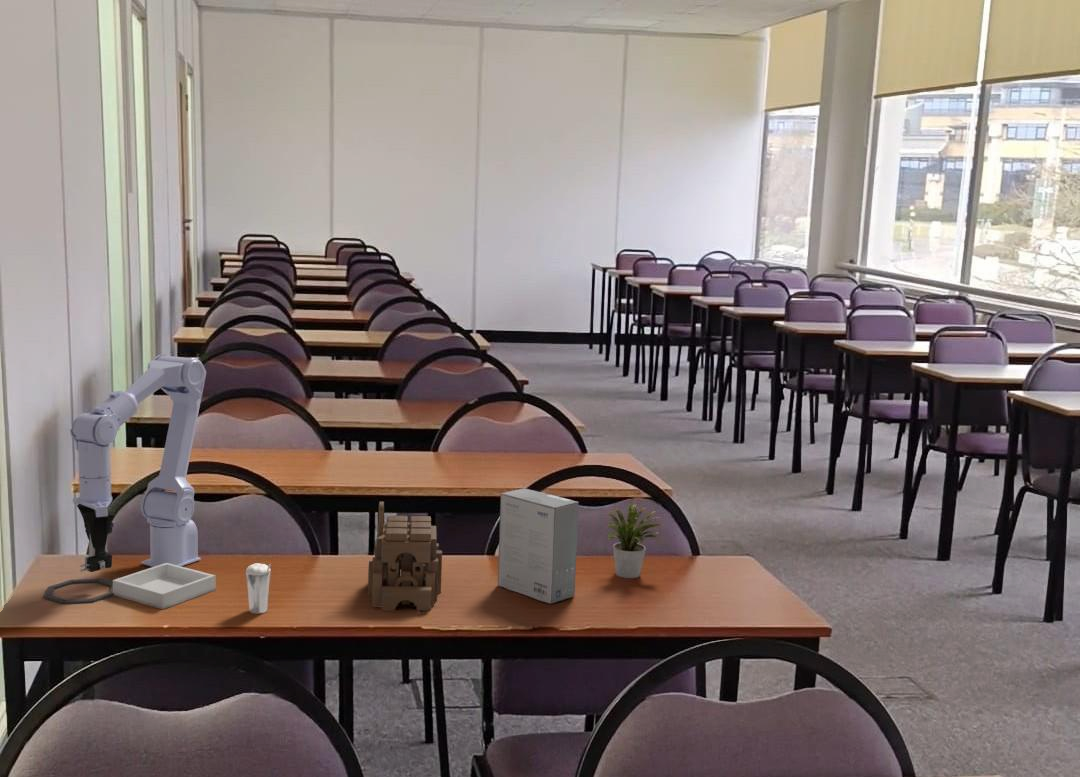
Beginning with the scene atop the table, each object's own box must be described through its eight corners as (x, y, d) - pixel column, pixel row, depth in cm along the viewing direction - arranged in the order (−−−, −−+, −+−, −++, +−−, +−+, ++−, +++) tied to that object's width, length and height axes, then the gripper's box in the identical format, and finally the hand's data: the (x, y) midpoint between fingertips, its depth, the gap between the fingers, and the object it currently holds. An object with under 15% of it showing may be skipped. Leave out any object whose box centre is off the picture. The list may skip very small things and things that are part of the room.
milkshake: (261, 617, 214) (261, 566, 212) (240, 611, 217) (240, 560, 215) (278, 611, 218) (278, 560, 216) (258, 604, 220) (258, 555, 219)
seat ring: (86, 576, 232) (86, 574, 232) (131, 589, 226) (131, 587, 226) (30, 594, 221) (30, 592, 221) (76, 608, 215) (76, 606, 215)
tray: (166, 576, 234) (166, 562, 234) (215, 589, 228) (215, 575, 227) (112, 595, 222) (112, 580, 222) (162, 609, 216) (162, 594, 215)
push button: (89, 577, 219) (91, 526, 217) (71, 570, 221) (72, 520, 220) (118, 568, 224) (119, 519, 223) (99, 562, 227) (101, 513, 225)
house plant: (623, 591, 237) (627, 514, 234) (579, 572, 248) (583, 499, 245) (671, 579, 246) (676, 505, 243) (627, 562, 257) (631, 491, 254)
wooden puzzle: (441, 611, 221) (444, 518, 218) (365, 611, 220) (367, 517, 217) (440, 574, 243) (442, 489, 240) (370, 574, 242) (372, 488, 239)
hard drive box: (576, 597, 232) (580, 502, 229) (550, 605, 227) (555, 508, 224) (521, 578, 243) (524, 486, 240) (495, 585, 237) (499, 492, 234)
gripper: (67, 468, 224) (69, 535, 226) (78, 486, 212) (80, 556, 214) (105, 465, 228) (106, 531, 230) (118, 482, 215) (120, 552, 218)
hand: (96, 543), depth 222 cm, fingers closed on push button, 5 cm apart
